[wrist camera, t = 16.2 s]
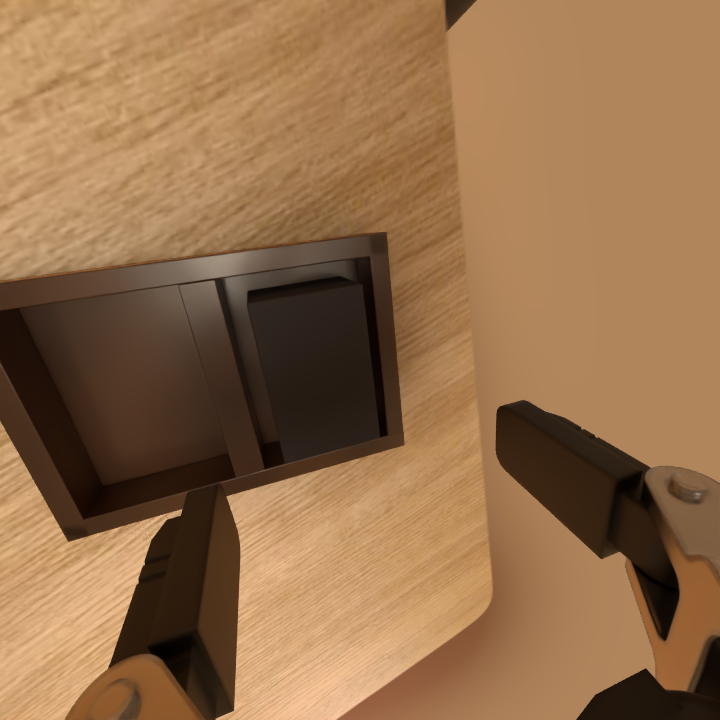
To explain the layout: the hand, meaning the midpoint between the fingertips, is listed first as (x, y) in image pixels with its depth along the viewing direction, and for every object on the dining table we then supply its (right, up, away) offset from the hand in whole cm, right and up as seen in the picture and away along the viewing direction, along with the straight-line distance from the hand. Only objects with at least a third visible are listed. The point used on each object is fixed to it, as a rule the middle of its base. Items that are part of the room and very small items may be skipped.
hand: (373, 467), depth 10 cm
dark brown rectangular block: (-3, +3, +10) cm, 11 cm away
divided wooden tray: (-8, +3, +10) cm, 13 cm away
